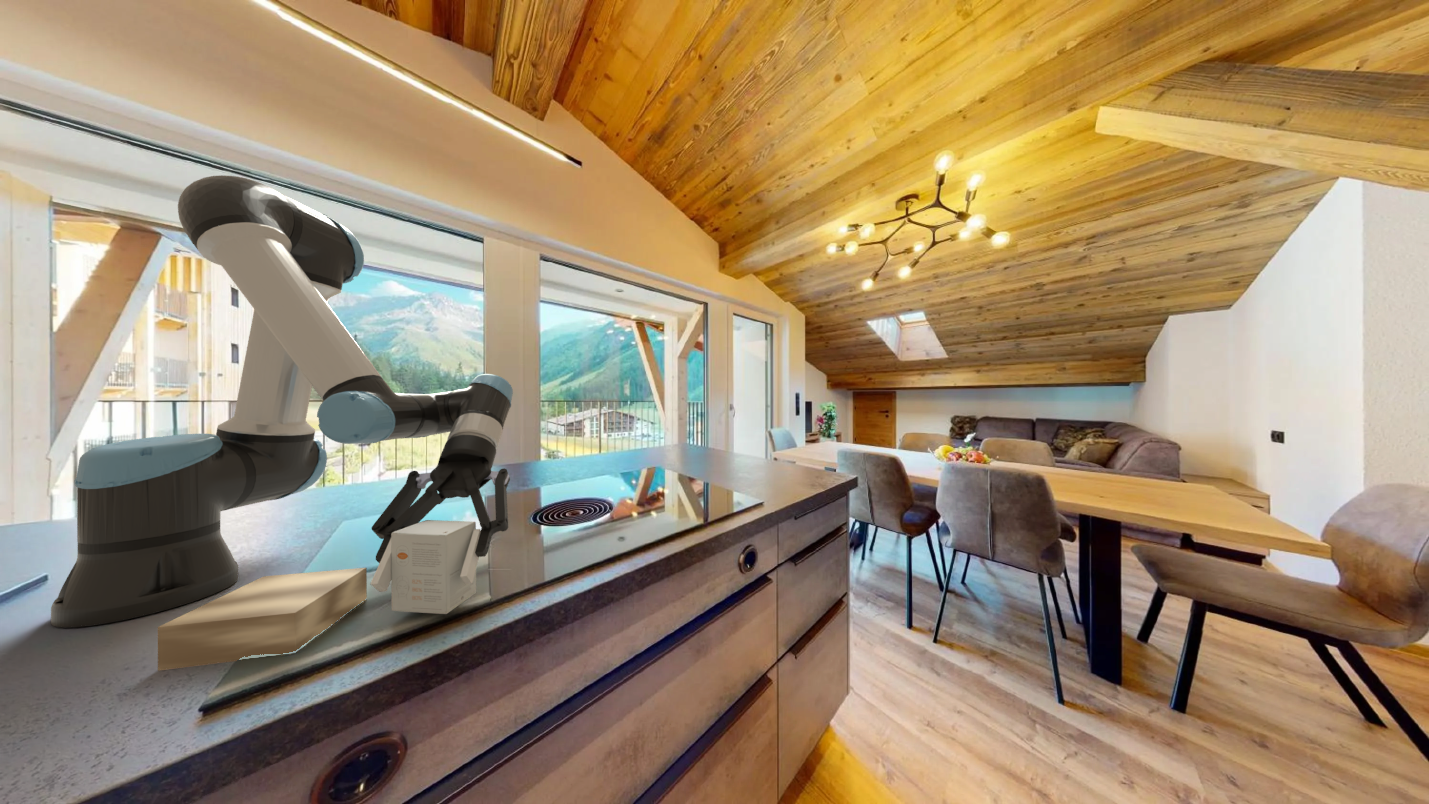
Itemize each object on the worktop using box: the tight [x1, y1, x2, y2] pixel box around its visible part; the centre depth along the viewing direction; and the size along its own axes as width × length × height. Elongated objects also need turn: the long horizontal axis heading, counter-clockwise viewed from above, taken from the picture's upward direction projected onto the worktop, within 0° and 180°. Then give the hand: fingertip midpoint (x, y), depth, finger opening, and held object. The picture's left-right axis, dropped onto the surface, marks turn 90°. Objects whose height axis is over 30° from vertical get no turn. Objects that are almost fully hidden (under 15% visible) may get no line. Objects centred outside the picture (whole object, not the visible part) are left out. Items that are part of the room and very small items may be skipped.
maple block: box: [157, 567, 368, 671], centre depth 47 cm, size 12×12×5 cm
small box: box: [390, 519, 477, 615], centre depth 52 cm, size 8×6×10 cm
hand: (423, 583), depth 49 cm, fingers closed on small box, 9 cm apart
